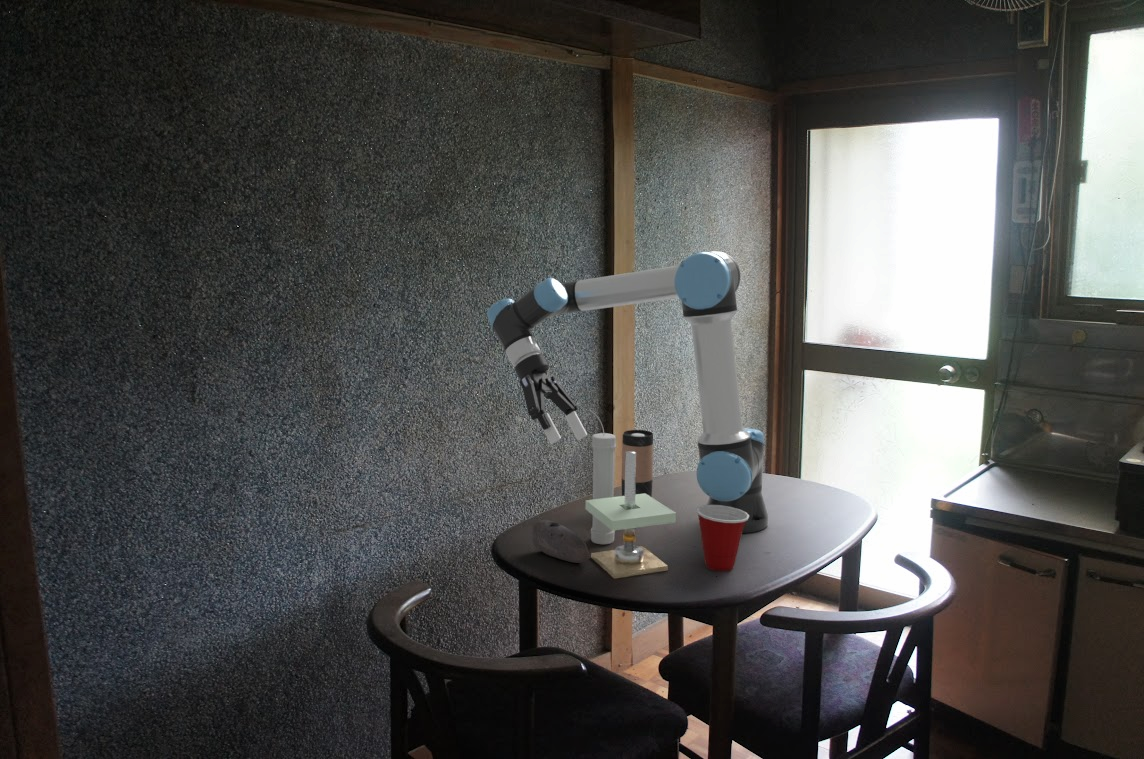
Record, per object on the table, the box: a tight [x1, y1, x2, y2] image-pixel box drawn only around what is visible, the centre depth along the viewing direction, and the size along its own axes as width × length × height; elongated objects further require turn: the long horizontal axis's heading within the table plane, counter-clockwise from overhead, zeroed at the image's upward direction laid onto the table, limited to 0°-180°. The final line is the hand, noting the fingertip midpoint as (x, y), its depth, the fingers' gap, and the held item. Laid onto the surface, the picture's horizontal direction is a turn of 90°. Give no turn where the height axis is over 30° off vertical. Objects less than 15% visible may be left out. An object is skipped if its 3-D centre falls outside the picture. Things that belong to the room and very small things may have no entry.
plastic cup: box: [695, 504, 749, 572], centre depth 177 cm, size 11×11×12 cm
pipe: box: [588, 409, 617, 545], centre depth 189 cm, size 6×6×30 cm
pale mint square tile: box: [585, 493, 677, 531], centre depth 177 cm, size 14×14×2 cm
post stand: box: [590, 451, 669, 579], centre depth 177 cm, size 12×12×24 cm
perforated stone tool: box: [531, 519, 590, 564], centre depth 181 cm, size 15×5×7 cm, turn 44°
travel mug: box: [621, 429, 654, 498], centre depth 210 cm, size 8×8×20 cm
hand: (569, 439), depth 195 cm, fingers open, 13 cm apart
